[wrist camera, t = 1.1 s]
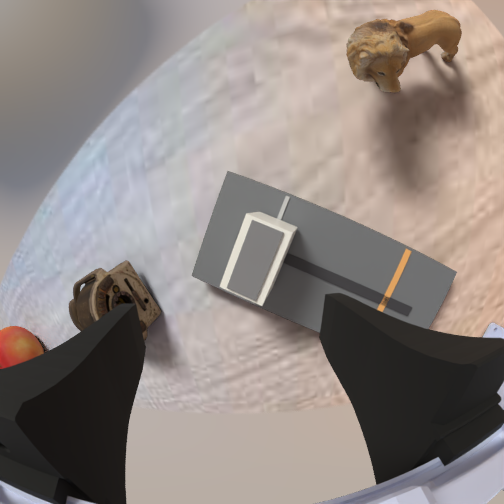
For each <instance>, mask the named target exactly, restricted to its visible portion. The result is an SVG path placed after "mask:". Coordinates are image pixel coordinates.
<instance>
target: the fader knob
mask: <svg viewBox="0 0 504 504" xmlns="http://www.w3.org/2000/svg"><path fill="white" fill-rule="evenodd" d="M297 228H298V227H296V226H294V225H291V224H289V223H286V222H284V221H282V220H279V219H277V218H274V217H272V216H269V215H267V214H264V213H262V212H253V213H246V215H245V218H244V221H243V223H242V226H241V229H240V232H239V234H238V237H237V240H236V242H235V245H234V248H233V251H232V253H231V256H230V259H229V262H228V264H227V267H226V270H225V273H224V275H223V278H222V281H221V284H220V286H219V287H221V288H223V289H225V290H227V291H230V292H232V293H234V294H236V295H238V296H240V297H243V298H245V299H247V300H249V301H252V302H254V303H256V304H258V305H261V306H262V305H263V304H264V302H265V300H266V298H267V297H268V295H269V293H270V291H271V290H272V288H273V285H274V283H275V281H276V278H277V276H278V274H279V271H280V269H281V266H282V264H283V262H284V259H285V257H286V254H287V252H288V250H289V247H290V245H291V242H292V240H293V237H294V235H295V233H296V230H297Z"/></svg>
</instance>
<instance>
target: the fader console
mask: <svg viewBox="0 0 504 504" xmlns="http://www.w3.org/2000/svg"><path fill="white" fill-rule="evenodd" d="M253 212H262V213H264V214H267V215H269V216H272V217H274V218H277V219H279V220H282V221H284V222H286V223H289V224H291V225H294V226H296V227H298V228H297V230H296V233H295V235H294V237H293V240H292V242H291V245H290V247H289V250H288V252H287V254H286V257H285V259H284V262H283V264H282V266H281V269H280V271H279V274H278V276H277V278H276V281H275V283H274V285H273V288H272V290H271V291H270V293H269V295H268V297H267V298H266V300H265V302H264V304H263V305H262V306H261V305H258V304H256V303H254V302H252V301H249V300H247V299H245V298H243V297H240V296H238V295H236V294H234V293H232V292H230V291H227V290H225V289H223V288H221V287H219V286H220V284H221V281H222V278H223V275H224V273H225V270H226V267H227V264H228V262H229V259H230V256H231V253H232V251H233V248H234V245H235V242H236V240H237V237H238V234H239V232H240V229H241V226H242V223H243V221H244V218H245V215H246V213H253ZM456 273H457V272H456V271H454V270H452V269H450V268H449V267H447V266H445V265H443V264H441V263H439V262H437V261H435V260H434V259H432V258H430V257H428V256H426V255H424V254H422V253H420V252H418V251H416V250H414V249H412V248H410V247H408V246H406V245H404V244H402V243H400V242H398V241H396V240H394V239H392V238H389V237H387V236H385V235H383V234H381V233H379V232H377V231H375V230H372V229H370V228H368V227H366V226H364V225H362V224H359V223H357V222H355V221H353V220H350V219H348V218H346V217H344V216H341V215H339V214H337V213H334V212H332V211H330V210H327V209H325V208H323V207H320V206H318V205H316V204H313V203H311V202H308V201H306V200H303V199H301V198H298V197H296V196H293V195H291V194H288V193H286V192H283V191H281V190H278V189H276V188H273V187H270V186H268V185H265V184H262V183H260V182H257V181H254V180H252V179H249V178H246V177H244V176H241V175H238V174H235V173H232V172H229V171H228V172H227V174H226V177H225V180H224V182H223V185H222V188H221V191H220V193H219V196H218V199H217V202H216V205H215V207H214V210H213V213H212V216H211V219H210V222H209V225H208V228H207V231H206V233H205V236H204V239H203V242H202V245H201V248H200V251H199V255H198V258H197V261H196V264H195V267H194V270H193V273H192V276H193V277H195V278H197V279H199V280H201V281H203V282H206V283H208V284H210V285H212V286H214V287H216V288H218V289H220V290H223V291H225V292H227V293H229V294H231V295H234V296H236V297H238V298H240V299H242V300H245V301H247V302H249V303H251V304H253V305H256V306H258V307H260V308H262V309H265V310H267V311H269V312H272V313H274V314H276V315H278V316H281V317H283V318H285V319H288V320H290V321H292V322H295V323H297V324H300V325H302V326H304V327H307V328H309V329H312V330H314V331H316V332H319V333H320V329H321V322H322V315H323V308H324V300H325V294H331V293H342V294H345V295H347V296H349V297H352V298H354V299H356V300H358V301H360V302H362V303H364V304H366V305H368V306H370V307H372V308H375V309H377V310H379V311H381V312H383V313H385V314H388V315H390V316H392V317H395V318H397V319H399V320H402V321H405V322H407V323H410V324H413V325H416V326H419V327H422V328H426V329H429V327H430V325H431V323H432V322H433V320H434V318H435V316H436V314H437V312H438V310H439V308H440V307H441V305H442V303H443V301H444V299H445V297H446V295H447V293H448V291H449V288H450V286H451V284H452V282H453V280H454V278H455V275H456Z"/></svg>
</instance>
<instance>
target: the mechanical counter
mask: <svg viewBox="0 0 504 504" xmlns="http://www.w3.org/2000/svg"><path fill="white" fill-rule="evenodd" d="M84 283H85V286H84V287H83V288H82V290H81V292H80V287H81V285H82V284H84ZM73 296H74V299H73V300H71V301H70V302H69V313H70V317H71V319H72V321H73V323H74V325H75V326H76V327H77V328H78V329H79V330H80V331H83V330H84V329H86V328H87V327H89V326H90V325H91V324H93V323H94V322H96V321H97V320H98V319H100V318H101V317H102V316H104V315H105V314H106V313H108V312H109V311H111V310H112V309H113V308H115V307H116V306H118V305H120V304H136V305H137V310H138V315H139V320H140V325H141V329H142V334H143V338H144V340H145V339H146V338H147V336H148V334H147V328H148V327H149V326H150V325H151V324H152V322H153V321H154V320H155V319H156V318H157V317H158V316H159V315H160V313H161V310H160V309H159V307H158V305H157V304H156V303H155V301H154V300H153V298H152V297H151V295H150V294H149V292H148V290H147V289H146V287H145V286H144V284H143V283H142V281H141V280H140V278H139V276H138V275H137V273H136V272H135V270H134V268H133V267H132V265H131V264H130V262H129V261H127V260H126V261H124V262H123V263H121V264H119V265H118V266H116V267H115V268H113V269H112V270H110V271H109V272H106V271H105V270H103V269H102V268H99V269H96V270H94V271H93V272H91V273H89V274H88V275H86V276H85V277H84V278H82V279H81V280H79V281H78V282H76V283H75V285H74V288H73Z"/></svg>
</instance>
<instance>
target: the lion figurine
mask: <svg viewBox="0 0 504 504" xmlns="http://www.w3.org/2000/svg"><path fill="white" fill-rule="evenodd" d="M461 34H462V31H461V29H460V23H459V21H458V20H457V19H456V18H454V17H452V16H450V15H449V14H448V13H445V12H442V11H438V10H430V11H427V12H425V13H424V14H421V15H419V16H414V17H410V18H406V19H402V20H399V21H395V20H387V19H382V20H379V19H376V20H374V21H371V22H367V23H365V24H363V25H361V26H360V27H357V28H356V29H355V31H354V33H353V34H352V35H351V37H350V38H349V39H348V43H347V57H348V60H349V64H350V67H351V69H352V71H353V74H354V75H355V77H356V78H357V79H359V80H363V81H369V82H376V84H377V86H378V87H379V89H380V90H381V91H383V92H393V93H396V92H399V91H400V90H401V88H400V82H399V80H398V77H399V76H400V75H401V74H402V73H403V70H404V68H405V67H406V65H407V64H408V62H409V59H410V58H412V57H415V56H417V55H419V54H421V53H423V52H425V51H427V50H429V49H430V48H431V47H432V46H433V45H434V44H438V45H439V46H440V47H441V48H442V49H443V50H444V52H442V54H441V56H442V59H444V60H445V61H446V62H451V60H452V59H453V57H454V55H455V54H456V53H457V52H458V47H457V45H458V43H459V41H460V38H461Z"/></svg>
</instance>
